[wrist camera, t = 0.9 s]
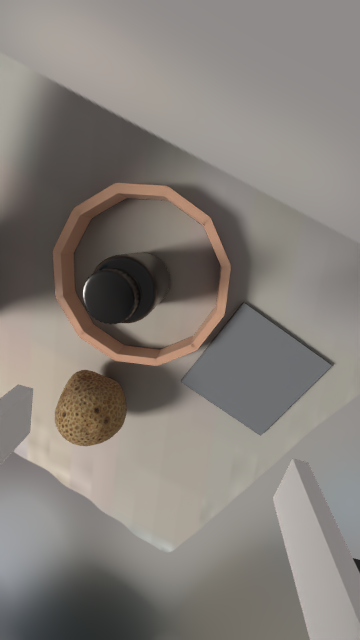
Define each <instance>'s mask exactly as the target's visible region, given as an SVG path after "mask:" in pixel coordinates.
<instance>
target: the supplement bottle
mask: <svg viewBox="0 0 360 640" xmlns="http://www.w3.org/2000/svg"><path fill="white" fill-rule="evenodd" d="M169 286H170V275H169V272H168V269H167V267H166V265H165V264H164V263H163V261H162V260H160V259H159V258H158V257H156V256H155V255H152V254H149V253H131V254H123V255H116V256H112V257H109V258H107V259H105V260H104V261H102V262H101V263H100V264H99V265H98V266H97V267H96V269H95V271H94V273H93V274H92V275H91V276H90V277H88V280H87V281H86V282H85V285H84V287H83V289H84V290H83V299H84V301H83V302H84V304H85V307H86V308H87V310H88V312H89V313H90V314H91V315H92V316H93V317H95V319H96V320H99V321H100V322H104V323H105V324H107V323H109V324H117V323H132V322H136V321H139V320H141V319H143V318H144V317H146V316H147V315H148V314H149V313H150V312H151V311H152V310H153V309H154V308H155V307H156V306H157V305H158V304H159V302H160V301H161V300H162V299H163V298H164V297H165V295H166V294H167V292H168V289H169Z"/></svg>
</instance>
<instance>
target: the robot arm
mask: <svg viewBox="0 0 360 640" xmlns="http://www.w3.org/2000/svg"><path fill="white" fill-rule="evenodd" d="M32 397H33V388H29V387H25V386H22V385H17V386H16V387H14V388H13V389H12V390H11V391H9V392H8V393H7V394H5V395H4V396H3V397H1V398H0V465H1V464H2V463H3V462H4V460H5V459H6V458H7V457H8V456H9V455H10V454H11V453H12V452H13V451H14V450H15V448H16V447H17V446H18V445H19V444H20V443H21V442H22V441H23V440H24V439H25V438H26V436H27V435H28V434H29V433H30V425H31V411H32ZM273 501H274V505H275V509H276V513H277V516H278V520H279V524H280V528H281V531H282V535H283V539H284V543H285V547H286V550H287V554H288V558H289V562H290V565H291V569H292V573H293V577H294V581H295V584H296V588H297V592H298V595H299V599H300V603H301V607H302V611H303V615H304V618H305V622H306V626H307V629H308V633H309V637H310V640H360V560H358V559H354V558H352V556H351V553H350V551H349V549H348V547H347V545H346V543H345V541H344V539H343V536H342V534H341V532H340V530H339V528H338V526H337V524H336V521H335V519H334V517H333V515H332V513H331V511H330V508H329V506H328V504H327V502H326V500H325V498H324V496H323V494H322V492H321V489H320V487H319V485H318V483H317V481H316V479H315V476H314V474H313V472H312V470H311V468H310V466H309V464H308V462H304V461H300V460H297V459H292V461H291V463H290V465H289V467H288V469H287V471H286V473H285V475H284V477H283V479H282V481H281V483H280V485H279V487H278V489H277V491H276V493H275V495H274V497H273Z"/></svg>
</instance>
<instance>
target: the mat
mask: <svg viewBox="0 0 360 640" xmlns="http://www.w3.org/2000/svg"><path fill="white" fill-rule="evenodd" d="M331 366H332V365H331V364H330V363H328V362H327V361H326V360H324V359H323V358H321V357H320V356H319V355H317V354H316V353H314V352H313V351H312V350H310V349H309V348H307V347H306V346H305V345H303V344H302V343H300V342H299V341H298V340H296V339H295V338H293V337H292V336H291V335H289V334H288V333H286V332H285V331H284V330H282V329H281V328H279V327H278V326H277V325H275V324H274V323H272V322H271V321H270V320H268V319H267V318H265V317H264V316H263V315H261V314H260V313H258V312H257V311H256V310H254V309H253V308H251V307H250V306H249V305H247V304H246V303H244V302H243V303H242V305H241V306H240V307H239V308H238V310H237V311H236V312H235V313H234V315H233V316H232V317H231V318H230V320H229V321H228V322H227V323H226V325H225V326H224V327H223V329H222V330H221V331H220V332H219V334H218V335H217V336H216V337H215V339H214V340H213V341H212V342H211V344H210V345H209V346H208V347H207V349H206V350H205V351H204V352H203V354H202V355H201V356H200V357H199V359H198V360H197V361H196V362H195V364H194V365H193V366H192V367H191V369H190V370H189V371H188V372H187V374H186V375H185V376H184V377H183V379H182V380H181V382H182V383H183V384H185V385H186V386H188V387H189V388H191V389H192V390H193V391H195V392H196V393H198V394H199V395H201V396H202V397H204V398H205V399H207V400H208V401H210V402H211V403H213V404H214V405H216V406H217V407H219V408H220V409H222V410H223V411H225V412H226V413H228V414H229V415H231V416H232V417H234V418H235V419H237V420H238V421H240V422H241V423H243V424H244V425H245V426H247V427H248V428H250V429H251V430H253V431H254V432H256V433H257V434H259V435H260V436H261V435H262V434H263V433H264V432H265V431H266V430H267V429H268V428H269V427H270V426H271V425H272V424H273V423H274V422H275V421H276V420H277V419H278V418H279V417H280V416H281V415H282V414H283V413H284V412H285V411H286V410H287V409H288V408H289V407H290V406H291V405H292V404H293V403H294V402H295V401H296V400H297V399H298V398H299V397H301V396H302V395H303V394H304V393H305V392H306V391H307V390H308V389H309V388H310V387H311V386H312V385H313V384H314V383H315V382H316V381H317V380H318V379H319V378H320V377H321V376H322V375H323V374H324V373H325V372H326V371H327V370H328V369H329V368H330V367H331Z"/></svg>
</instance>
